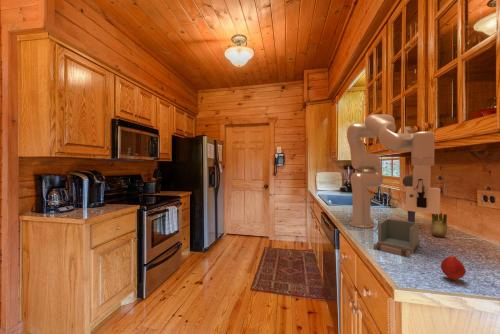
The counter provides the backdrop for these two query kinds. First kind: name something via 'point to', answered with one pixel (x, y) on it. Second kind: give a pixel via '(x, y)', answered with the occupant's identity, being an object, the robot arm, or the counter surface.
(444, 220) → the fennel bulb
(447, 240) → the counter surface
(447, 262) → the onion
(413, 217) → the rubber mallet
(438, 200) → the door
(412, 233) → the cabinet
